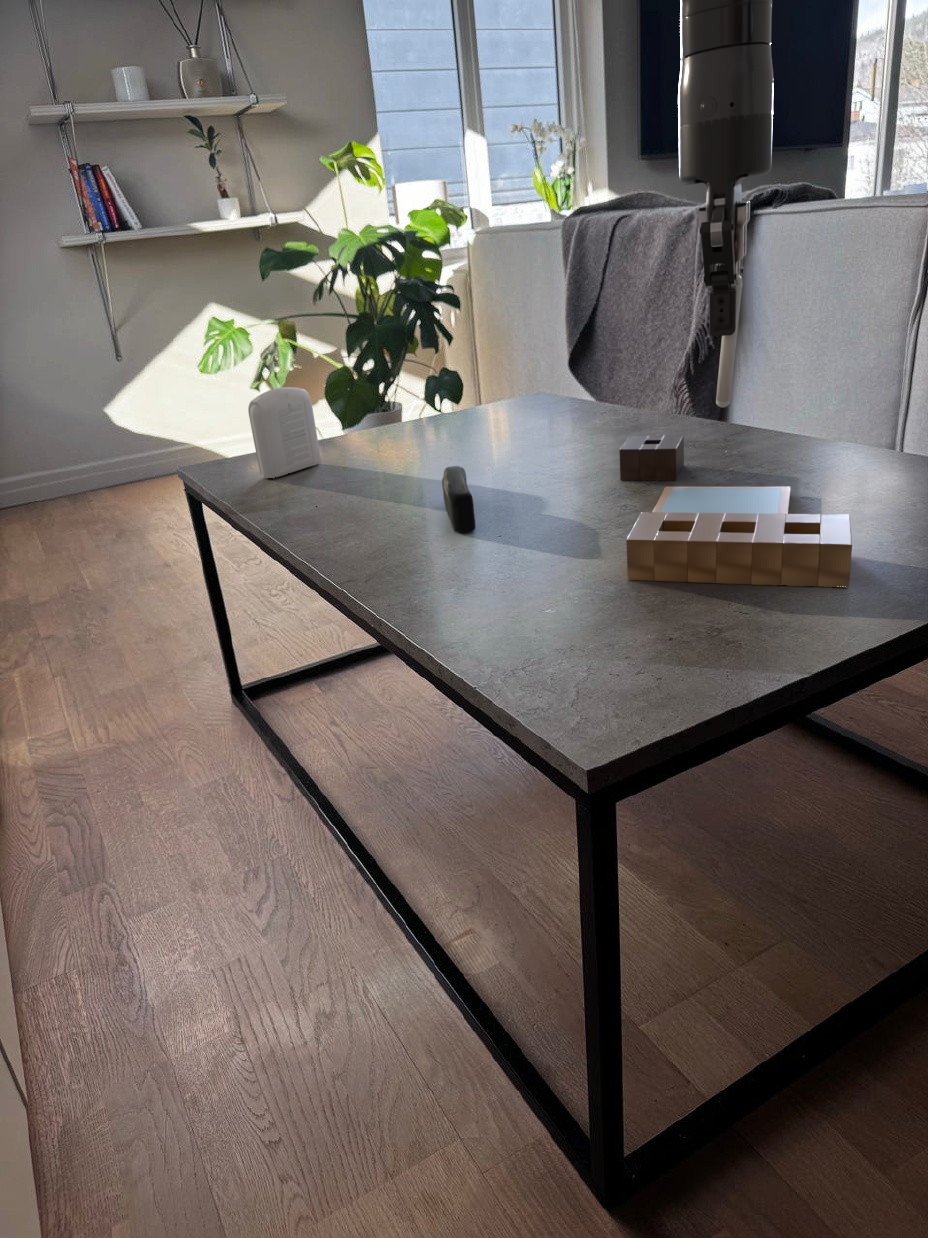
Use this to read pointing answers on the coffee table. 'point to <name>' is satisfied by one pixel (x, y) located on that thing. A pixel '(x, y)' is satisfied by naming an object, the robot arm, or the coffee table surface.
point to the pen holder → (741, 548)
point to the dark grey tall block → (458, 499)
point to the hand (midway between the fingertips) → (723, 332)
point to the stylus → (728, 358)
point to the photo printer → (284, 431)
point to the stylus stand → (652, 457)
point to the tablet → (724, 500)
